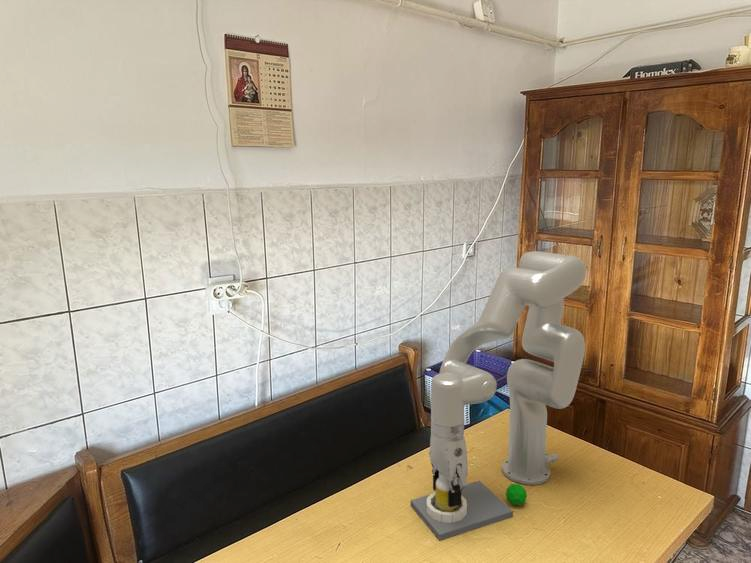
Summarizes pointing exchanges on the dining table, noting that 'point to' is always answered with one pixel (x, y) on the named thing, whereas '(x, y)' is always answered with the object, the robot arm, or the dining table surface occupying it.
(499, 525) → the dining table surface
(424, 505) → the pin board
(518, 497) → the polyhedron
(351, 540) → the dining table surface
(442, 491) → the supplement bottle
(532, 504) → the dining table surface
